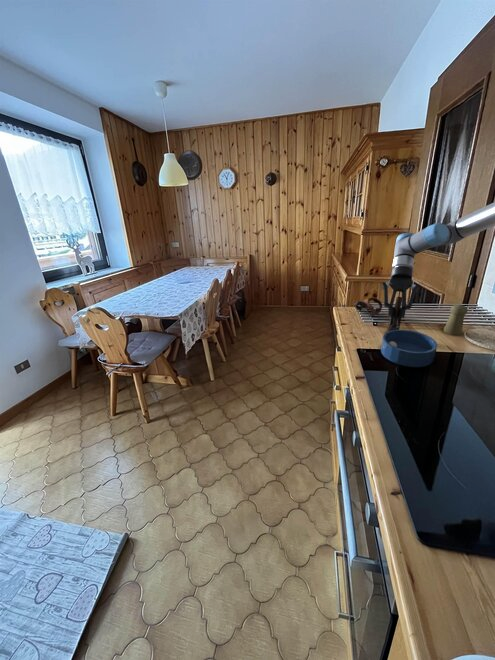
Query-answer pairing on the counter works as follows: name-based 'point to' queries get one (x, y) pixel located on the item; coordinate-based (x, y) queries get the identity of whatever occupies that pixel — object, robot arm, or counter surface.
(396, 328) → the brown wooden pestle
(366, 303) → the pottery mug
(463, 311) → the olive green waisted cylinder
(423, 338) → the bowl
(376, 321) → the counter surface
